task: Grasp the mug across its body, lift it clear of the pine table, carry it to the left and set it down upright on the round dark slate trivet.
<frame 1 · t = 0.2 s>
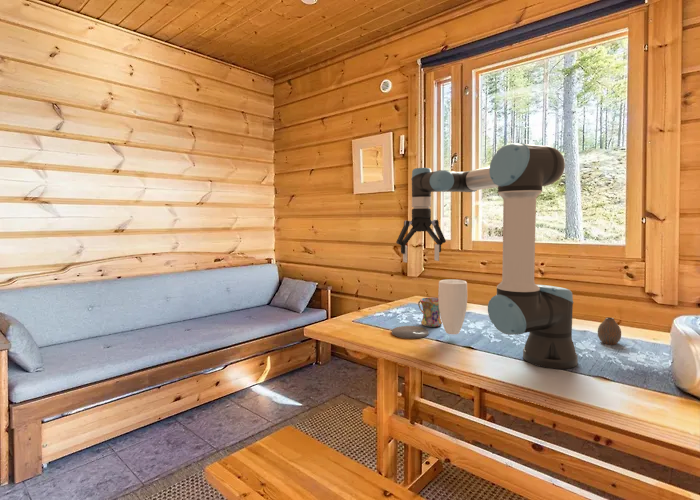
hand: (421, 261, 163), 27 cm above the table, fingers open, 13 cm apart
mug: (429, 325, 168), on the table
trivet: (410, 333, 156), on the table
vase: (608, 343, 141), on the table
cup: (452, 341, 147), on the table
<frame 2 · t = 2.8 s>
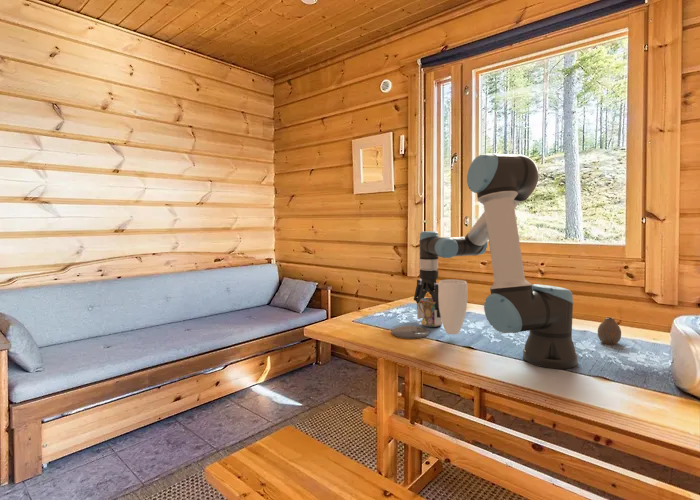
hand: (428, 321, 168), 1 cm above the table, fingers closed on mug, 11 cm apart
mug: (429, 325, 168), on the table, touching gripper
everything else where it was.
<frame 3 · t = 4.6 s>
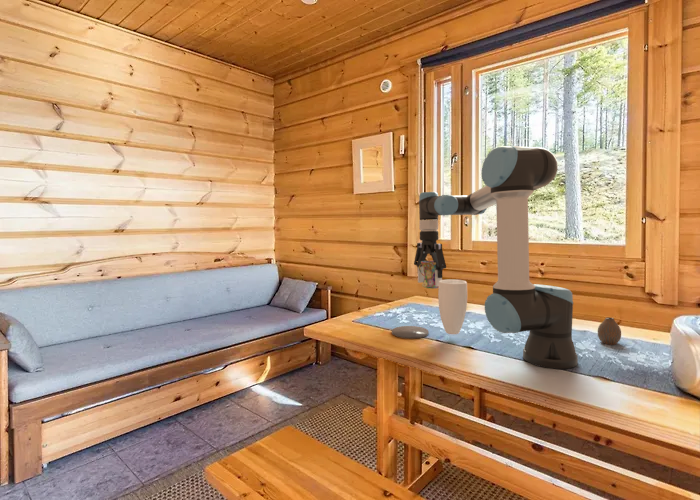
hand: (429, 284, 166), 17 cm above the table, fingers closed on mug, 11 cm apart
mug: (430, 287, 166), point 15 cm above the table, touching gripper
everything else where it was.
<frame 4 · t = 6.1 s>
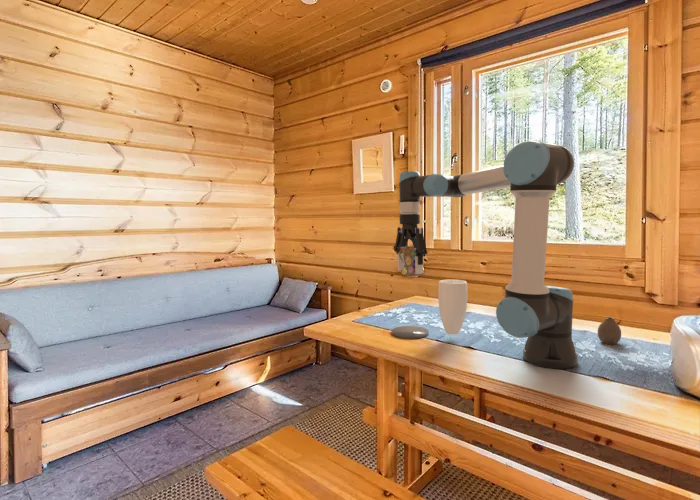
hand: (410, 271, 154), 24 cm above the table, fingers closed on mug, 11 cm apart
mug: (410, 275, 154), point 23 cm above the table, touching gripper
everything else where it was.
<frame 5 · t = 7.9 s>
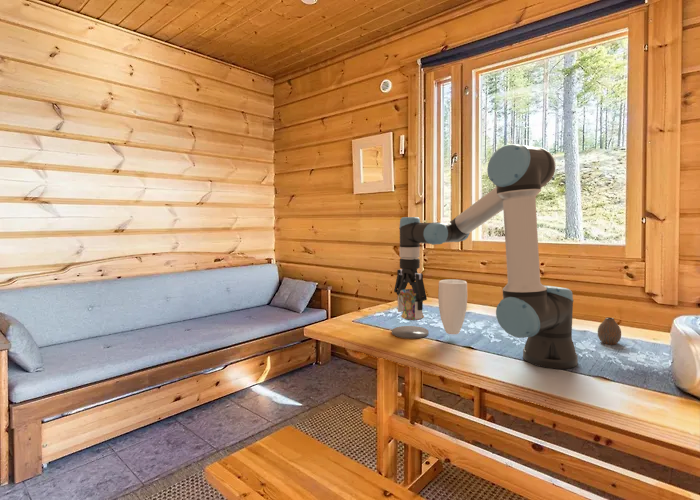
hand: (409, 314, 155), 7 cm above the table, fingers closed on mug, 11 cm apart
mug: (410, 318, 155), point 6 cm above the table, touching gripper
everything else where it was.
when the fingers open (4 cm above the table, at t = 9.5 s): mug drops 1 cm, resting on trivet.
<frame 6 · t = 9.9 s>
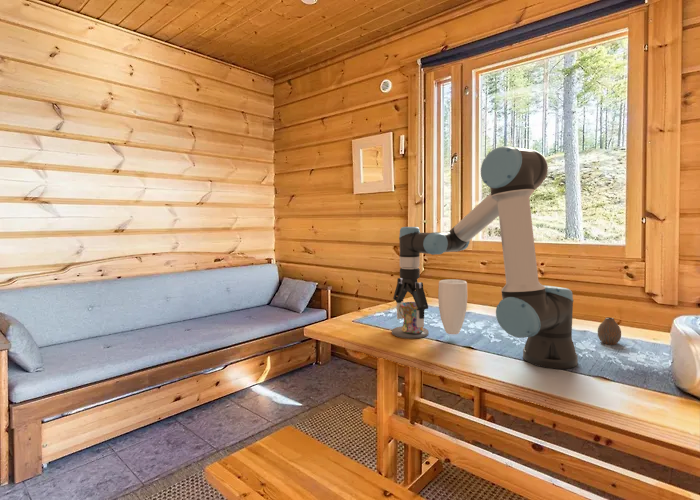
hand: (409, 322, 156), 4 cm above the table, fingers open, 13 cm apart
mug: (410, 331, 156), point 1 cm above the table, touching trivet
everything else where it was.
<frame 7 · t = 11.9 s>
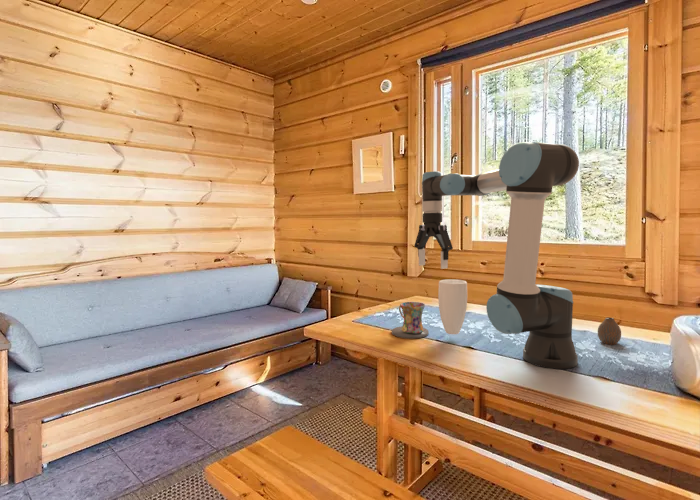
hand: (432, 266, 159), 25 cm above the table, fingers open, 13 cm apart
nothing on the table moved.
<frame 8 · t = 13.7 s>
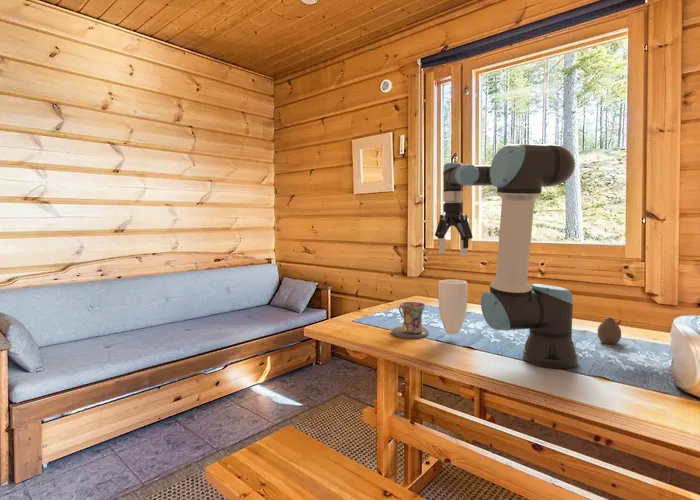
hand: (452, 255, 165), 29 cm above the table, fingers open, 13 cm apart
nothing on the table moved.
at the end: mug inside the target area on the trivet (0.2 cm from its centre), point 0.8 cm above the trivet's base; mug tilted 0°; the gripper is holding nothing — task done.
